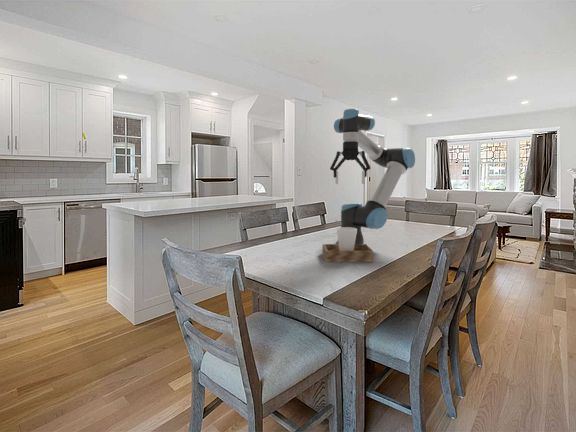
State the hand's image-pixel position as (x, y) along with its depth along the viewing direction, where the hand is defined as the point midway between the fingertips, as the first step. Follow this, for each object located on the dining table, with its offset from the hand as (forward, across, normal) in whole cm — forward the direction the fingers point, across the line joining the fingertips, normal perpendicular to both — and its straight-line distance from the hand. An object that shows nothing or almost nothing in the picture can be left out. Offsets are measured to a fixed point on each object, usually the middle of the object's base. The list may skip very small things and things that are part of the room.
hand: (349, 184), depth 171 cm
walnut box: (+35, -4, -13) cm, 37 cm away
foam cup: (+34, -4, -13) cm, 37 cm away
